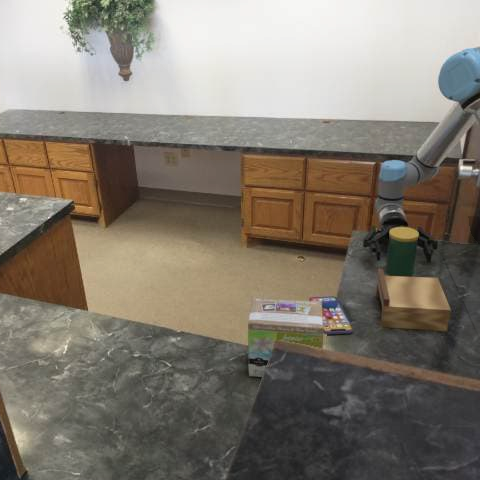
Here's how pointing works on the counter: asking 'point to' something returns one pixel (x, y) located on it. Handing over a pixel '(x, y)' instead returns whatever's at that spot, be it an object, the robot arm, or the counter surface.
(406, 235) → the tea tin
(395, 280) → the wooden block
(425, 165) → the robot arm
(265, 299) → the tea box
